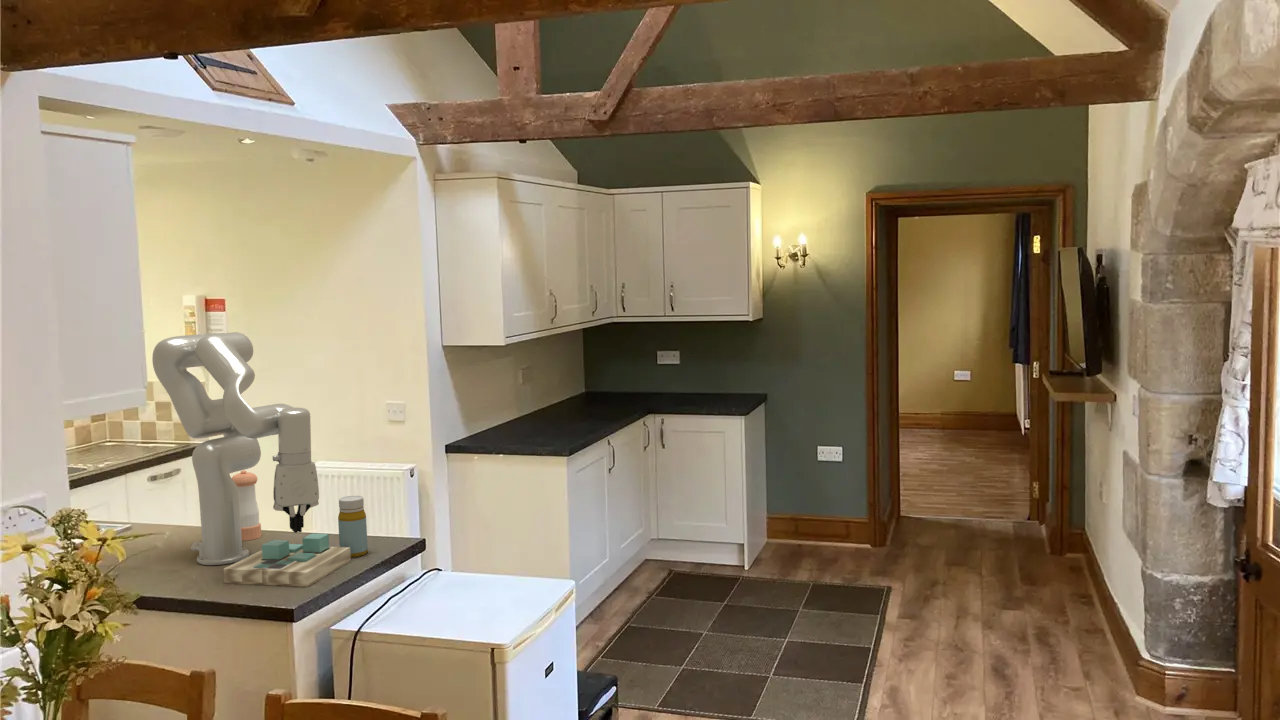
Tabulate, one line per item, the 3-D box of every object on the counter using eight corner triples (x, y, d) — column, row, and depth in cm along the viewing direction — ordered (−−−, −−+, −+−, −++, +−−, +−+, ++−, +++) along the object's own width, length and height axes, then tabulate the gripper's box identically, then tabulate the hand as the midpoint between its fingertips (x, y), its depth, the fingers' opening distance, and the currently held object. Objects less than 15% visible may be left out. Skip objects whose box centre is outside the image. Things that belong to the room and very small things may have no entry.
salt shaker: (265, 537, 282) (261, 470, 280) (239, 542, 277) (235, 474, 275) (255, 532, 287) (251, 466, 285) (229, 537, 282) (225, 470, 280)
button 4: (303, 551, 252) (302, 538, 252) (312, 546, 257) (312, 533, 257) (319, 552, 251) (319, 538, 251) (329, 547, 256) (328, 533, 256)
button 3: (288, 571, 246) (288, 557, 246) (298, 566, 250) (298, 552, 250) (305, 572, 245) (305, 558, 245) (315, 566, 249) (314, 553, 249)
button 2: (279, 562, 254) (278, 548, 254) (288, 557, 259) (288, 543, 258) (295, 562, 253) (294, 549, 253) (305, 557, 258) (304, 544, 257)
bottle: (360, 558, 258) (357, 501, 257) (335, 557, 259) (332, 501, 258) (372, 551, 265) (369, 495, 263) (348, 550, 266) (345, 495, 265)
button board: (224, 583, 240) (223, 567, 240) (273, 557, 261) (272, 542, 261) (307, 586, 236) (306, 570, 236) (350, 560, 256) (350, 545, 256)
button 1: (262, 558, 247) (261, 545, 247) (273, 553, 252) (272, 540, 251) (279, 559, 246) (278, 545, 246) (289, 554, 251) (288, 540, 250)
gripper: (267, 464, 238) (269, 539, 240) (330, 458, 246) (331, 530, 248) (259, 458, 244) (261, 531, 246) (321, 452, 252) (323, 523, 254)
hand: (296, 530), depth 247 cm, fingers closed
